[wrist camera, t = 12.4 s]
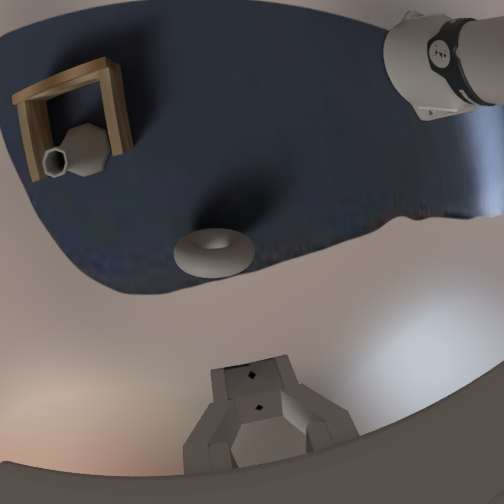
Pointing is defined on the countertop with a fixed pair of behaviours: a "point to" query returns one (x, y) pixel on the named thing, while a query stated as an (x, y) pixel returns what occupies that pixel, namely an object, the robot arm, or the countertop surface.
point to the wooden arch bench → (35, 96)
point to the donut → (214, 252)
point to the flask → (79, 152)
